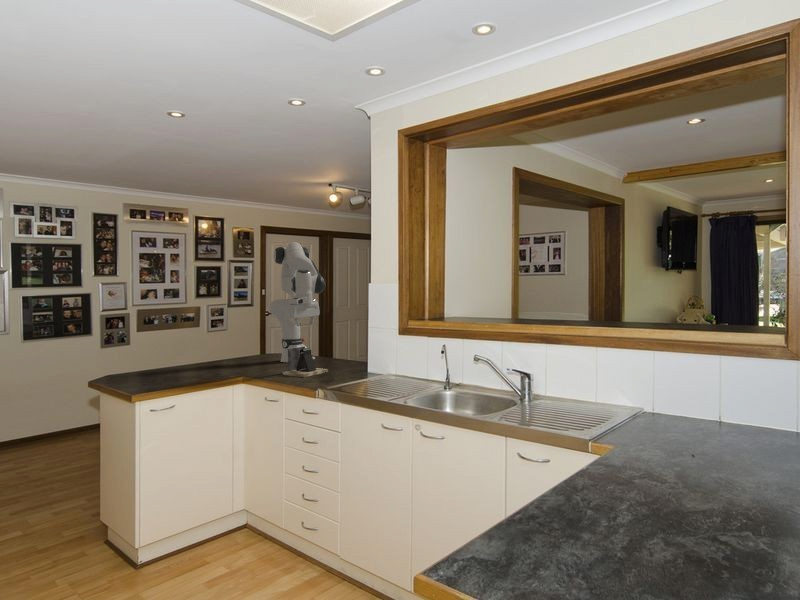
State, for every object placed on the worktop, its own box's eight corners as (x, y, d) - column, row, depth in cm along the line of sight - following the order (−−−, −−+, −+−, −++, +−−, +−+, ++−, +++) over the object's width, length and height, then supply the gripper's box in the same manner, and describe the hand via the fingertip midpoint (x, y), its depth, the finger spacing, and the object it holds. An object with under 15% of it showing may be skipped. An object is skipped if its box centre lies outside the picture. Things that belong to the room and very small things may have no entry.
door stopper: (316, 370, 289) (315, 348, 288) (308, 372, 284) (308, 349, 283) (303, 369, 293) (303, 347, 293) (296, 370, 288) (295, 348, 288)
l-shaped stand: (306, 369, 301) (306, 345, 300) (327, 371, 291) (327, 347, 291) (282, 374, 286) (282, 349, 285) (304, 377, 277) (303, 351, 276)
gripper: (313, 299, 297) (314, 323, 298) (286, 300, 280) (286, 327, 281) (321, 299, 293) (322, 324, 294) (294, 301, 277) (295, 327, 277)
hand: (304, 325), depth 287 cm, fingers open, 8 cm apart
